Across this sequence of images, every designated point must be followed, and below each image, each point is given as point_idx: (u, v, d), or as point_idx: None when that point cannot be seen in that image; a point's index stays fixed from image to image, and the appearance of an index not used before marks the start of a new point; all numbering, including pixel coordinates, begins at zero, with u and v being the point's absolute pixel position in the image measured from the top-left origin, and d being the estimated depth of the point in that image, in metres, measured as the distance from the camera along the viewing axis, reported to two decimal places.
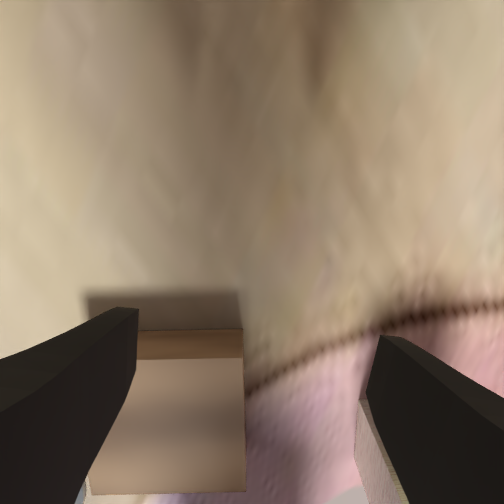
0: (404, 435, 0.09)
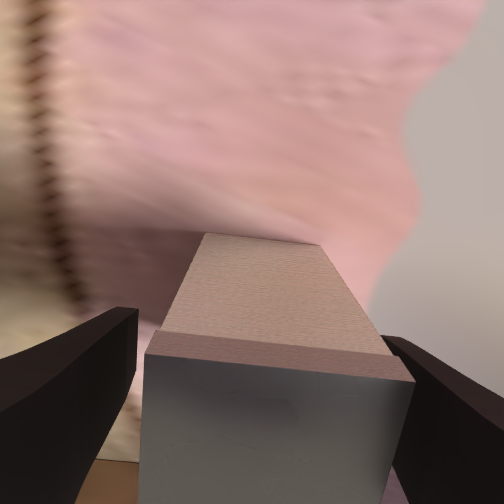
0: (404, 435, 0.09)
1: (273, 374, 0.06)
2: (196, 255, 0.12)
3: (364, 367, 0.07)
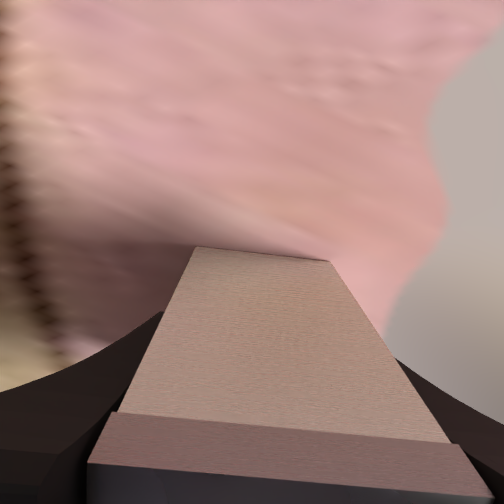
0: None
1: (283, 489, 0.04)
2: (182, 279, 0.10)
3: (415, 471, 0.05)
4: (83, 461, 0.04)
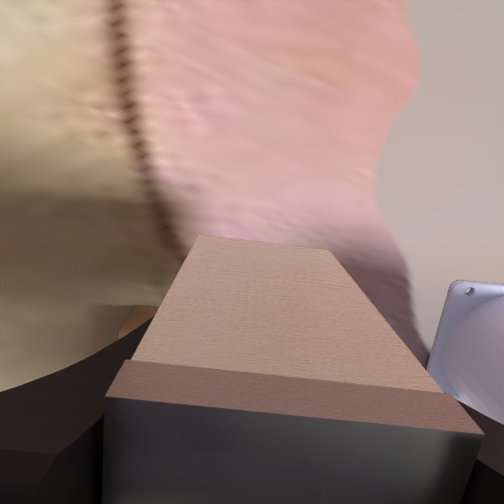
0: None
1: (286, 424, 0.05)
2: (187, 260, 0.10)
3: (410, 412, 0.05)
4: (82, 461, 0.04)
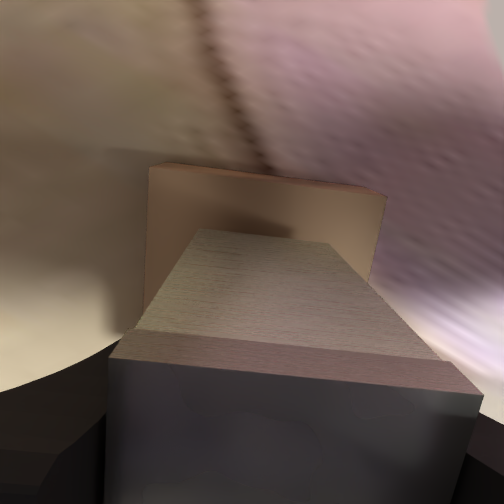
0: None
1: (288, 385, 0.05)
2: (187, 249, 0.10)
3: (410, 375, 0.05)
4: (83, 461, 0.04)
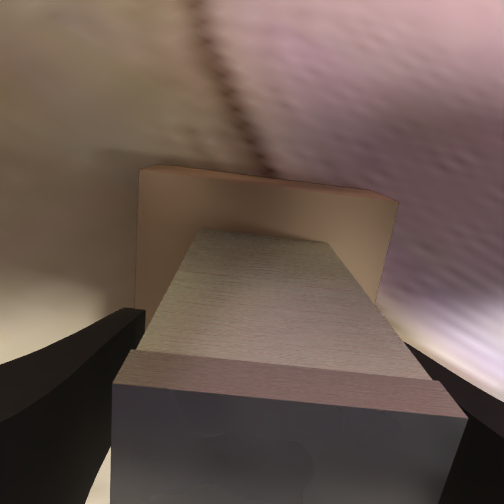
0: None
1: (282, 409, 0.05)
2: (188, 253, 0.10)
3: (399, 398, 0.05)
4: None
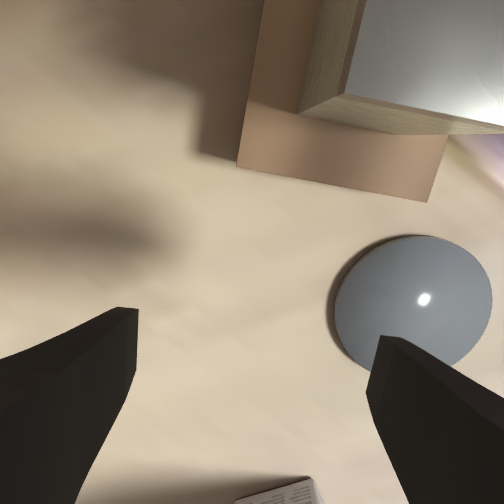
0: (404, 436, 0.09)
1: None
2: None
3: None
4: None
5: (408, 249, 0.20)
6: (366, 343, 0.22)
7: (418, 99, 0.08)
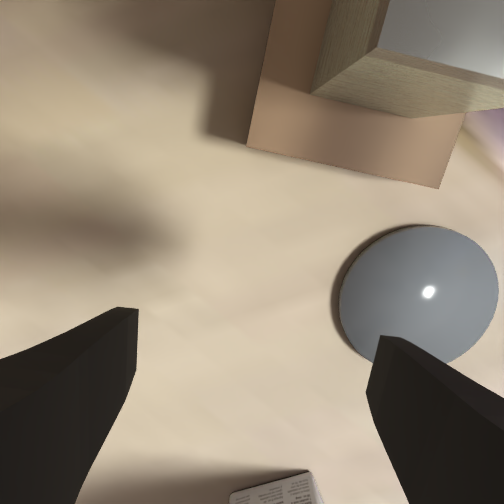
0: (404, 435, 0.09)
1: None
2: None
3: None
4: None
5: (416, 238, 0.20)
6: (370, 334, 0.22)
7: (453, 57, 0.08)
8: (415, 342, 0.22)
